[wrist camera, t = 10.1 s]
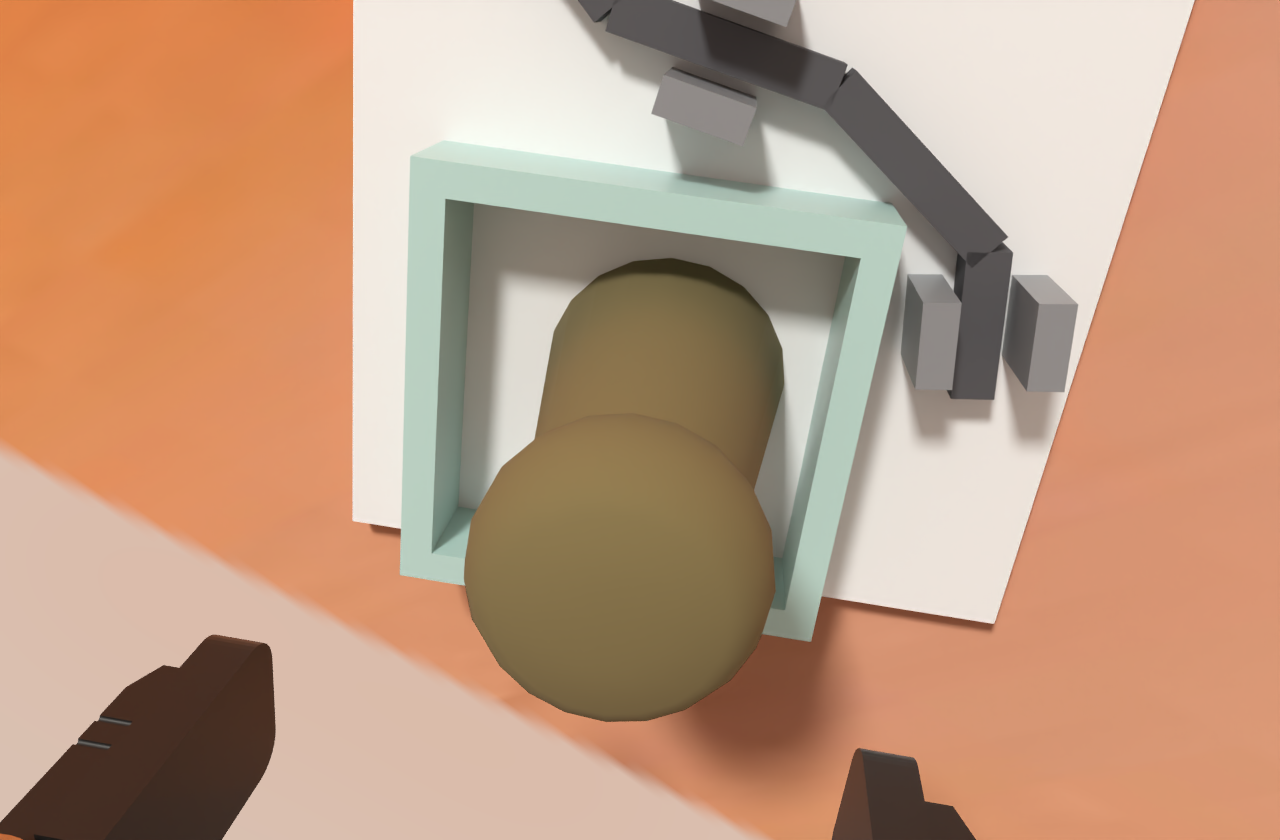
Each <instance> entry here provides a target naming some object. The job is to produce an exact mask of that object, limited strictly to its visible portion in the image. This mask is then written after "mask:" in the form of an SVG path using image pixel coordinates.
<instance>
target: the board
mask: <svg viewBox="0 0 1280 840" xmlns="http://www.w3.org/2000/svg"><path fill="white" fill-rule="evenodd" d="M674 1H676V2H679V3H682V4H685V5H687V6H690V7H693V8H696V9H699V10H701V11H704V12H707V13H710V14H712V15H715V16H718V17H721V18H724V19H726V20H729V21H732V22H735V23H737V24H740V25H743V26H746V27H749V28H751V29H754V30H757V31H760V32H762V33H765V34H768V35H771V36H774V37H776V38H779V39H782V40H785V41H787V42H790V43H793V44H796V45H799V46H801V47H804V48H807V49H810V50H812V51H815V52H818V53H821V54H824V55H826V56H829V57H832V58H835V59H837V60H840V61H843V62H845V63H846V64H848V66H847V68H846V71H845V73H844V75H845V74H846V73H847V72H848V71H849V70H850V69H851V68H854V69H855V70H857V71H858V73H859V74H860V75H861V76H862V77H863V78H864V79H865V80H866V81H867V82H868V84H869V85H870V86H871V87H872V88H873V89H874V90H875V91H876V92H877V93H878V95H879V96H880V97H881V98H882V99H883V100H884V101H885V102H886V103H887V104H888V105H889V107H890V108H891V109H892V110H893V111H894V112H895V113H896V114H897V115H898V116H899V118H900V119H901V120H902V121H903V122H904V123H905V124H906V125H907V126H908V127H909V129H910V130H911V131H912V132H913V133H914V134H915V135H916V136H917V137H918V138H919V139H920V141H921V142H922V143H923V144H924V145H925V146H926V147H927V148H928V149H929V150H930V152H931V153H932V154H933V155H934V156H935V157H936V158H937V159H938V160H939V161H940V162H941V164H942V165H943V166H944V167H945V168H946V169H947V170H948V171H949V172H950V173H951V175H952V176H953V177H954V178H955V179H956V180H957V181H958V182H959V183H960V184H961V186H962V187H963V188H964V189H965V190H966V191H967V192H968V193H969V194H970V195H971V196H972V198H973V199H974V200H975V201H976V202H977V203H978V204H979V205H980V206H981V207H982V209H983V210H984V211H985V212H986V213H987V214H988V215H989V216H990V217H991V218H992V220H993V221H994V222H995V223H996V224H997V225H998V226H999V227H1000V228H1001V229H1002V230H1003V232H1004V233H1005V234H1006V235H1007V236H1008V238H1007V239H1005V240H1004V241H1003V243H1004V244H1005V245H1006V246H1007V247H1008V248H1009V249H1010V250H1011V251H1012V252H1013V259H1012V267H1011V274H1010V282H1009V290H1008V298H1007V305H1006V313H1005V321H1004V328H1003V336H1002V344H1001V351H1000V359H999V367H998V375H997V382H996V390H995V398H994V400H976V399H951V398H950V396H949V394H948V392H947V390H952V386H953V377H954V368H955V359H956V350H957V341H958V332H959V323H960V314H961V305H962V303H961V302H960V300H959V299H958V297H957V296H956V294H955V293H954V291H953V290H954V281H955V272H956V262H957V253H958V252H957V251H956V250H955V249H954V248H953V247H952V246H951V245H950V244H949V243H948V242H947V241H946V240H945V238H944V237H943V236H942V235H941V234H940V233H939V232H938V231H937V230H936V229H935V228H934V227H933V226H932V225H931V223H930V222H929V221H928V220H927V219H926V218H925V217H924V216H923V215H922V214H921V213H920V212H919V211H918V209H917V208H916V207H915V206H914V205H913V204H912V203H911V202H910V201H909V200H908V199H907V198H906V197H905V196H904V194H903V193H902V192H901V191H900V190H899V189H898V188H897V187H896V186H895V185H894V184H893V183H892V182H891V181H890V179H889V178H888V177H887V176H886V175H885V174H884V173H883V172H882V171H881V170H880V169H879V168H878V167H877V165H876V164H875V163H874V162H873V161H872V160H871V159H870V158H869V157H868V156H867V155H866V154H865V153H864V152H863V150H862V149H861V148H860V147H859V146H858V145H857V144H856V143H855V142H854V141H853V140H852V139H851V138H850V136H849V135H848V134H847V133H846V132H845V131H844V130H843V129H842V128H841V127H840V126H839V125H838V124H837V123H836V121H835V120H834V119H833V118H832V117H831V116H830V115H829V114H828V113H827V112H826V111H825V110H824V109H821V108H818V107H816V106H813V105H810V104H807V103H804V102H802V101H799V100H796V99H793V98H790V97H788V96H785V95H782V94H779V93H776V92H774V91H771V90H768V89H765V88H762V87H760V86H757V85H754V84H751V83H748V82H746V81H743V80H740V79H737V78H735V77H732V76H729V75H726V74H723V73H721V72H718V71H715V70H712V69H709V68H707V67H704V66H701V65H698V64H695V63H693V62H690V61H687V60H684V59H681V58H679V57H676V56H673V55H670V54H668V53H665V52H662V51H659V50H656V49H654V48H651V47H648V46H645V45H642V44H640V43H637V42H634V41H631V40H628V39H626V38H623V37H620V36H617V35H614V34H612V33H609V32H606V31H605V30H606V27H607V23H608V20H609V17H610V14H609V15H608V16H607V17H605V18H604V19H603V20H602V21H601V22H595V23H594V22H593V21H592V19H591V18H590V16H589V15H588V14H587V12H586V11H585V10H584V8H583V7H582V6H581V4H580V3H579V2H578V0H353V521H356V522H362V523H369V524H375V525H381V526H387V527H394V528H400V529H401V511H402V470H403V430H404V389H405V349H406V308H407V267H408V227H409V186H410V156H411V155H413V154H416V153H418V152H420V151H422V150H424V149H426V148H428V147H431V146H433V145H435V144H437V143H439V142H441V141H443V140H446V141H453V142H460V143H467V144H474V145H481V146H488V147H495V148H502V149H510V150H517V151H524V152H531V153H538V154H545V155H552V156H559V157H566V158H573V159H581V160H588V161H595V162H602V163H609V164H616V165H623V166H630V167H637V168H644V169H652V170H659V171H666V172H673V173H680V174H687V175H694V176H701V177H708V178H715V179H723V180H730V181H737V182H744V183H751V184H758V185H765V186H772V187H779V188H786V189H794V190H801V191H808V192H815V193H822V194H829V195H836V196H843V197H850V198H857V199H865V200H872V201H879V202H886V203H892V204H893V206H894V207H895V209H896V210H897V212H898V213H899V215H900V216H901V218H902V219H903V221H904V222H905V224H906V225H907V230H906V235H905V239H904V243H903V247H902V252H901V256H900V260H899V265H898V269H897V273H896V278H895V282H894V286H893V291H892V295H891V299H890V303H889V308H888V312H887V316H886V321H885V325H884V329H883V334H882V338H881V342H880V347H879V351H878V355H877V359H876V364H875V368H874V372H873V377H872V381H871V385H870V390H869V394H868V398H867V403H866V407H865V411H864V415H863V420H862V424H861V428H860V433H859V437H858V441H857V446H856V450H855V454H854V459H853V463H852V467H851V471H850V476H849V480H848V484H847V489H846V493H845V497H844V502H843V506H842V510H841V515H840V519H839V523H838V527H837V532H836V536H835V540H834V545H833V549H832V553H831V558H830V562H829V566H828V571H827V575H826V579H825V583H824V588H823V592H822V596H823V597H829V598H836V599H842V600H848V601H854V602H861V603H867V604H873V605H879V606H885V607H892V608H898V609H904V610H910V611H917V612H923V613H929V614H935V615H942V616H948V617H954V618H960V619H966V620H973V621H979V622H985V623H991V624H994V623H995V620H996V617H997V614H998V611H999V608H1000V605H1001V601H1002V598H1003V595H1004V592H1005V589H1006V586H1007V583H1008V580H1009V577H1010V573H1011V570H1012V567H1013V564H1014V561H1015V558H1016V555H1017V552H1018V549H1019V545H1020V542H1021V539H1022V536H1023V533H1024V530H1025V527H1026V524H1027V521H1028V517H1029V514H1030V511H1031V508H1032V505H1033V502H1034V499H1035V496H1036V493H1037V489H1038V486H1039V483H1040V480H1041V477H1042V474H1043V471H1044V468H1045V465H1046V461H1047V458H1048V455H1049V452H1050V449H1051V446H1052V443H1053V440H1054V437H1055V433H1056V430H1057V427H1058V424H1059V421H1060V418H1061V415H1062V412H1063V409H1064V405H1065V402H1066V399H1067V396H1068V393H1069V390H1070V387H1071V384H1072V381H1073V377H1074V374H1075V371H1076V368H1077V365H1078V362H1079V359H1080V356H1081V353H1082V349H1083V346H1084V343H1085V340H1086V337H1087V334H1088V331H1089V328H1090V325H1091V321H1092V318H1093V315H1094V312H1095V309H1096V306H1097V303H1098V300H1099V297H1100V293H1101V290H1102V287H1103V284H1104V281H1105V278H1106V275H1107V272H1108V269H1109V265H1110V262H1111V259H1112V256H1113V253H1114V250H1115V247H1116V244H1117V241H1118V237H1119V234H1120V231H1121V228H1122V225H1123V222H1124V219H1125V216H1126V213H1127V209H1128V206H1129V203H1130V200H1131V197H1132V194H1133V191H1134V188H1135V185H1136V181H1137V178H1138V175H1139V172H1140V169H1141V166H1142V163H1143V160H1144V157H1145V153H1146V150H1147V147H1148V144H1149V141H1150V138H1151V135H1152V132H1153V129H1154V125H1155V122H1156V119H1157V116H1158V113H1159V110H1160V107H1161V104H1162V101H1163V98H1164V94H1165V91H1166V88H1167V85H1168V82H1169V79H1170V76H1171V73H1172V70H1173V66H1174V63H1175V60H1176V57H1177V54H1178V51H1179V48H1180V45H1181V42H1182V38H1183V35H1184V32H1185V29H1186V26H1187V23H1188V20H1189V17H1190V14H1191V10H1192V7H1193V4H1194V1H1195V0H674ZM664 258H675V259H679V260H684V261H688V262H692V263H697V264H701V265H705V266H710V267H712V268H713V269H715V270H717V271H718V272H720V273H722V274H723V275H725V276H727V277H728V278H730V279H732V280H733V281H735V282H737V283H739V284H740V285H742V286H744V288H745V289H746V290H747V291H748V292H749V293H750V294H751V296H752V297H753V298H754V299H755V300H756V301H757V302H758V304H759V305H760V306H761V307H762V308H763V309H764V310H765V312H766V313H767V314H768V315H769V318H770V320H771V322H772V325H773V327H774V330H775V332H776V334H777V337H778V339H779V342H780V344H781V347H782V350H783V368H784V388H783V391H782V395H781V398H780V401H779V405H778V408H777V412H776V415H775V419H774V422H773V426H772V429H771V433H770V436H769V440H768V443H767V447H766V450H765V454H764V457H763V461H762V464H761V468H760V471H759V475H758V478H757V482H756V485H755V489H754V492H755V494H756V496H757V499H758V501H759V503H760V505H761V507H762V510H763V512H764V514H765V516H766V519H767V521H768V523H769V525H770V528H771V530H772V543H773V557H779V558H782V557H783V552H784V547H785V543H786V538H787V533H788V528H789V524H790V519H791V514H792V509H793V504H794V500H795V495H796V490H797V485H798V480H799V476H800V471H801V466H802V461H803V457H804V452H805V447H806V442H807V437H808V433H809V428H810V423H811V418H812V413H813V409H814V404H815V399H816V394H817V390H818V385H819V380H820V375H821V370H822V366H823V361H824V356H825V351H826V346H827V342H828V337H829V332H830V327H831V323H832V318H833V313H834V308H835V303H836V299H837V294H838V289H839V284H840V279H841V275H842V270H843V265H844V260H845V256H841V255H834V254H827V253H820V252H813V251H806V250H799V249H792V248H785V247H778V246H771V245H764V244H757V243H750V242H743V241H736V240H729V239H722V238H715V237H708V236H701V235H694V234H688V233H681V232H674V231H667V230H660V229H653V228H646V227H639V226H632V225H625V224H618V223H611V222H604V221H597V220H590V219H583V218H576V217H569V216H562V215H555V214H548V213H541V212H534V211H528V210H521V209H514V208H507V207H500V206H493V205H486V204H479V203H474V212H473V232H472V251H471V271H470V290H469V310H468V329H467V349H466V368H465V388H464V407H463V426H462V446H461V465H460V485H459V504H458V507H464V508H470V509H478V507H479V505H480V503H481V502H482V500H483V498H484V496H485V495H486V493H487V491H488V489H489V488H490V486H491V484H492V483H493V481H494V479H495V477H496V476H497V474H498V472H499V470H500V469H501V467H502V466H503V465H504V464H506V463H507V462H508V461H509V460H510V459H512V458H513V457H514V456H515V455H516V454H518V453H519V452H520V451H521V450H522V449H524V448H525V447H526V446H527V445H528V444H530V443H531V442H532V441H533V440H534V439H535V433H536V428H537V422H538V416H539V411H540V405H541V400H542V394H543V388H544V383H545V377H546V372H547V366H548V360H549V355H550V349H551V344H552V338H553V332H554V330H555V328H556V326H557V324H558V322H559V321H560V319H561V317H562V315H563V314H564V312H565V310H566V308H567V307H568V305H569V303H570V301H571V300H572V299H573V298H574V297H575V296H576V295H577V294H578V293H580V292H581V291H582V290H583V289H584V288H585V287H586V286H588V285H589V284H590V283H591V282H592V281H593V280H594V279H595V278H597V277H598V276H599V275H602V274H604V273H606V272H609V271H611V270H613V269H616V268H618V267H621V266H623V265H625V264H628V263H630V262H632V261H640V260H652V259H664Z"/></svg>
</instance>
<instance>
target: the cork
mask: <svg viewBox="0 0 1280 840" xmlns="http://www.w3.org/2000/svg"><path fill="white" fill-rule="evenodd" d="M783 388H784V368H783V350H782V347H781V344H780V342H779V339H778V337H777V334H776V332H775V330H774V327H773V325H772V322H771V320H770V318H769V315H768V314H767V313H766V312H765V310H764V309H763V308H762V307H761V306H760V305H759V304H758V302H757V301H756V300H755V299H754V298H753V297H752V296H751V294H750V293H749V292H748V291H747V290H746V289H745V288H744V286H742V285H740V284H739V283H737V282H735V281H733V280H732V279H730V278H728V277H727V276H725V275H723V274H722V273H720V272H718V271H717V270H715V269H713V268H712V267H710V266H705V265H701V264H697V263H692V262H688V261H684V260H679V259H675V258H664V259H652V260H640V261H632V262H630V263H628V264H625V265H623V266H621V267H618V268H616V269H613V270H611V271H609V272H606V273H604V274H602V275H599V276H598V277H597V278H595V279H594V280H593V281H592V282H591V283H590V284H589V285H588V286H586V287H585V288H584V289H583V290H582V291H581V292H580V293H578V294H577V295H576V296H575V297H574V298H573V299H572V300H571V301H570V303H569V305H568V307H567V308H566V310H565V312H564V314H563V315H562V317H561V319H560V321H559V322H558V324H557V326H556V328H555V330H554V332H553V338H552V344H551V349H550V355H549V360H548V366H547V372H546V377H545V383H544V388H543V394H542V400H541V405H540V411H539V416H538V422H537V428H536V433H535V439H534V440H533V441H532V442H531V443H530V444H528V445H527V446H526V447H525V448H524V449H522V450H521V451H520V452H519V453H518V454H516V455H515V456H514V457H513V458H512V459H510V460H509V461H508V462H507V463H506V464H504V465H503V466H502V467H501V469H500V470H499V472H498V474H497V476H496V477H495V479H494V481H493V483H492V484H491V486H490V488H489V489H488V491H487V493H486V495H485V496H484V498H483V500H482V502H481V503H480V505H479V507H478V509H477V510H476V512H475V514H474V515H473V517H472V519H471V524H470V530H469V537H468V543H467V549H466V556H465V565H464V583H465V588H466V593H467V597H468V602H469V607H470V612H471V617H472V620H473V622H474V623H475V625H476V627H477V628H478V630H479V632H480V633H481V635H482V637H483V639H484V640H485V642H486V644H487V645H488V647H489V649H490V650H491V652H492V654H493V656H494V657H495V659H496V661H497V662H498V664H499V666H500V667H501V668H502V669H504V670H505V671H506V672H507V673H508V674H509V675H510V676H511V677H512V678H513V679H514V680H515V681H516V682H518V683H519V684H520V685H521V686H522V687H523V688H524V689H525V690H526V691H527V692H528V693H530V694H532V695H534V696H536V697H537V698H539V699H541V700H543V701H545V702H547V703H549V704H551V705H553V706H555V707H556V708H558V709H560V710H562V711H564V712H567V713H571V714H575V715H580V716H584V717H588V718H592V719H596V720H601V721H605V722H617V721H648V720H652V719H655V718H659V717H662V716H665V715H669V714H672V713H676V712H679V711H683V710H685V709H687V708H689V707H690V706H692V705H693V704H695V703H696V702H698V701H699V700H701V699H702V698H704V697H706V696H707V695H709V694H710V693H712V692H713V691H715V690H716V689H718V688H719V687H721V686H722V685H724V684H726V683H727V682H729V681H730V680H731V679H732V678H733V677H734V675H735V674H736V673H737V672H738V670H739V669H740V668H741V666H742V665H743V664H744V663H745V661H746V660H747V659H748V658H749V656H750V655H751V654H752V652H753V651H754V650H755V649H756V647H757V644H758V642H759V640H760V637H761V635H762V633H763V630H764V627H765V623H766V620H767V617H768V614H769V611H770V608H771V604H772V601H773V598H774V595H775V592H776V589H775V574H774V558H773V543H772V530H771V528H770V525H769V523H768V521H767V519H766V516H765V514H764V512H763V510H762V507H761V505H760V503H759V501H758V499H757V496H756V494H755V492H754V489H755V485H756V482H757V478H758V475H759V471H760V468H761V464H762V461H763V457H764V454H765V450H766V447H767V443H768V440H769V436H770V433H771V429H772V426H773V422H774V419H775V415H776V412H777V408H778V405H779V401H780V398H781V395H782V391H783Z"/></svg>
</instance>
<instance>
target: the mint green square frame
mask: <svg viewBox="0 0 1280 840" xmlns="http://www.w3.org/2000/svg"><path fill="white" fill-rule="evenodd" d="M474 203H479V204H486V205H493V206H500V207H507V208H514V209H521V210H528V211H534V212H541V213H548V214H555V215H562V216H569V217H576V218H583V219H590V220H597V221H604V222H611V223H618V224H625V225H632V226H639V227H646V228H653V229H660V230H667V231H674V232H681V233H688V234H694V235H701V236H708V237H715V238H722V239H729V240H736V241H743V242H750V243H757V244H764V245H771V246H778V247H785V248H792V249H799V250H806V251H813V252H820V253H827V254H834V255H841V256H845V260H844V265H843V270H842V275H841V279H840V284H839V289H838V294H837V299H836V303H835V308H834V313H833V318H832V323H831V327H830V332H829V337H828V342H827V346H826V351H825V356H824V361H823V366H822V370H821V375H820V380H819V385H818V390H817V394H816V399H815V404H814V409H813V413H812V418H811V423H810V428H809V433H808V437H807V442H806V447H805V452H804V457H803V461H802V466H801V471H800V476H799V480H798V485H797V490H796V495H795V500H794V504H793V509H792V514H791V519H790V524H789V528H788V533H787V538H786V543H785V547H784V552H783V557H782V558H779V557H773V558H774V574H775V589H776V592H775V595H774V598H773V601H772V604H771V608H770V611H769V614H768V617H767V620H766V623H765V627H764V630H763V633H762V634H765V635H771V636H777V637H784V638H790V639H796V640H802V641H808V642H811V639H812V635H813V631H814V626H815V622H816V618H817V614H818V609H819V605H820V601H821V596H822V592H823V588H824V583H825V579H826V575H827V571H828V566H829V562H830V558H831V553H832V549H833V545H834V540H835V536H836V532H837V527H838V523H839V519H840V515H841V510H842V506H843V502H844V497H845V493H846V489H847V484H848V480H849V476H850V471H851V467H852V463H853V459H854V454H855V450H856V446H857V441H858V437H859V433H860V428H861V424H862V420H863V415H864V411H865V407H866V403H867V398H868V394H869V390H870V385H871V381H872V377H873V372H874V368H875V364H876V359H877V355H878V351H879V347H880V342H881V338H882V334H883V329H884V325H885V321H886V316H887V312H888V308H889V303H890V299H891V295H892V291H893V286H894V282H895V278H896V273H897V269H898V265H899V260H900V256H901V252H902V247H903V243H904V239H905V235H906V230H907V225H906V224H905V222H904V221H903V219H902V218H901V216H900V215H899V213H898V212H897V210H896V209H895V207H894V206H893V204H892V203H886V202H879V201H872V200H865V199H857V198H850V197H843V196H836V195H829V194H822V193H815V192H808V191H801V190H794V189H786V188H779V187H772V186H765V185H758V184H751V183H744V182H737V181H730V180H723V179H715V178H708V177H701V176H694V175H687V174H680V173H673V172H666V171H659V170H652V169H644V168H637V167H630V166H623V165H616V164H609V163H602V162H595V161H588V160H581V159H573V158H566V157H559V156H552V155H545V154H538V153H531V152H524V151H517V150H510V149H502V148H495V147H488V146H481V145H474V144H467V143H460V142H453V141H446V140H443V141H441V142H439V143H437V144H435V145H433V146H431V147H428V148H426V149H424V150H422V151H420V152H418V153H416V154H413V155H411V156H410V186H409V227H408V267H407V308H406V349H405V389H404V430H403V470H402V511H401V551H400V575H403V576H409V577H415V578H421V579H428V580H434V581H440V582H446V583H452V584H458V585H464V586H465V583H464V565H465V556H466V549H467V543H468V537H469V530H470V524H471V519H472V517H473V515H474V514H475V512H476V510H477V509H470V508H464V507H458V504H459V485H460V465H461V446H462V426H463V407H464V388H465V368H466V349H467V329H468V310H469V290H470V271H471V251H472V232H473V212H474Z"/></svg>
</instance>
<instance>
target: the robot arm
mask: <svg viewBox="0 0 1280 840" xmlns="http://www.w3.org/2000/svg"><path fill="white" fill-rule="evenodd" d="M274 740H275V708H274V687H273V666H272V654H271V649H270V647H269V646H268V645H267V644H265V643H260V642H255V641H249V640H242V639H237V638H232V637H226V636H220V635H211V636H209V637H207V638H206V639H205V640H204V641H203V642H202V643H201V644H200V645H199V646H198V647H197V649H196V650H195V651H194V652H193V653H192V654H191V655H190V657H189V658H188V659H187V660H186V661H185V662H184V663H183V665H182V666H181V667H180V668H176V667H171V666H165V665H163V666H161V667H160V668H158V669H156V670H155V671H153V672H151V673H149V674H148V675H146V676H144V677H143V678H141V679H139V680H138V681H136V682H134V683H132V684H131V685H129V686H127V687H126V688H125V689H124V690H123V691H122V692H121V693H120V694H119V696H117V698H116V699H115V700H114V701H113V702H112V703H111V704H110V705H109V706H108V707H107V708H106V709H105V710H104V712H103V713H102V714H101V715H100V718H99V720H98V721H94V722H93V723H92V724H91V725H90V727H89V728H88V729H87V730H86V731H85V732H84V733H83V734H82V735H81V736H80V737H79V739H78V743H77V744H76V745H72V746H71V747H70V748H69V749H68V750H67V752H65V753H64V755H63V756H62V757H61V758H60V759H59V760H58V761H57V762H56V763H55V764H54V765H53V767H51V769H50V770H49V771H48V772H47V773H46V774H45V775H44V776H43V777H42V778H41V779H40V780H39V781H38V782H37V784H36V785H35V786H34V787H33V788H32V789H31V790H30V791H29V792H28V793H27V794H26V796H24V798H23V799H22V800H21V801H20V802H19V803H18V804H17V805H16V806H15V807H14V808H13V809H12V810H11V811H10V813H9V814H8V815H7V816H6V817H5V818H4V819H3V820H2V821H1V822H0V840H222V838H223V837H224V835H225V834H226V832H227V831H228V829H229V828H230V826H231V825H232V823H233V821H234V820H235V818H236V817H237V815H238V814H239V812H240V811H241V809H242V808H243V806H244V805H245V803H246V801H247V800H248V798H249V797H250V795H251V794H252V792H253V791H254V789H255V788H256V786H257V785H258V783H259V781H260V780H261V778H262V776H263V775H264V773H265V770H266V768H267V766H268V763H269V761H270V758H271V754H272V751H273V746H274ZM832 840H976V839H975V838H974V836H973V835H972V833H971V832H970V830H969V829H968V828H967V826H966V825H965V823H964V822H963V820H962V819H961V817H960V816H959V815H958V813H957V812H956V810H955V809H954V807H953V806H948V805H942V804H937V803H931V802H925V801H924V796H923V791H922V785H921V780H920V775H919V770H918V765H917V762H916V760H915V759H914V758H912V757H907V756H901V755H895V754H889V753H884V752H878V751H872V750H866V749H861V748H858V749H857V750H856V751H855V753H854V756H853V759H852V762H851V766H850V770H849V774H848V778H847V781H846V785H845V789H844V793H843V797H842V801H841V804H840V808H839V812H838V816H837V820H836V824H835V827H834V831H833V836H832Z"/></svg>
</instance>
